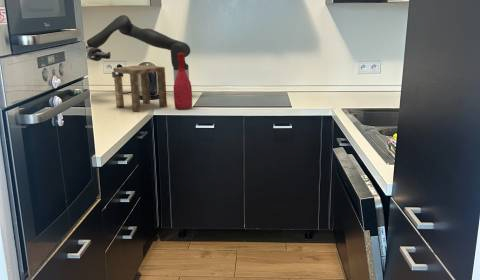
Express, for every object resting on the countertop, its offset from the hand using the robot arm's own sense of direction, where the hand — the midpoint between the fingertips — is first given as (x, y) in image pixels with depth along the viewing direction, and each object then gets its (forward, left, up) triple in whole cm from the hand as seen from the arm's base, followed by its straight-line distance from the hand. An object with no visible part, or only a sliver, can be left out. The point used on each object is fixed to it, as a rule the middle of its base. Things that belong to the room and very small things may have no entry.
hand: (108, 57), depth 272 cm
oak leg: (+3, +13, -27) cm, 30 cm away
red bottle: (-20, +42, -27) cm, 54 cm away
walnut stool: (-6, +22, -27) cm, 35 cm away
